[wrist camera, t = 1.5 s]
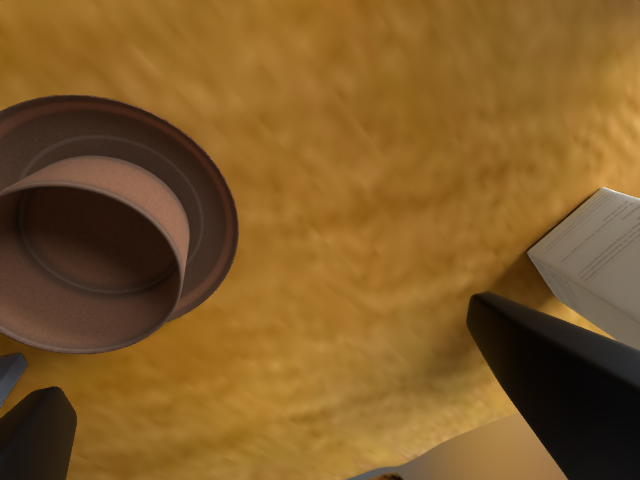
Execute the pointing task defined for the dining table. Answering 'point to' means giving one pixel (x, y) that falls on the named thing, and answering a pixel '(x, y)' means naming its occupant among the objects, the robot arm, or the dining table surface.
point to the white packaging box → (597, 263)
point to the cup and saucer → (105, 224)
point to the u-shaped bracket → (10, 373)
